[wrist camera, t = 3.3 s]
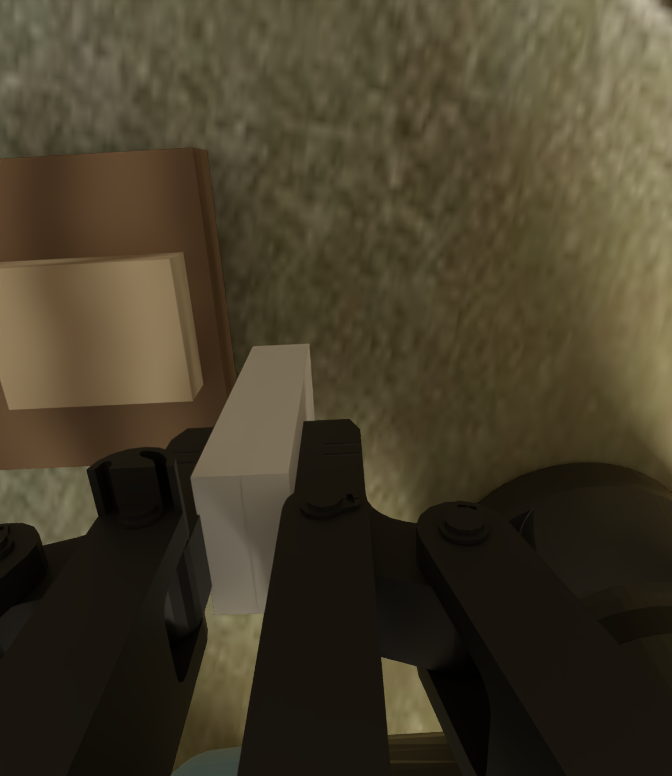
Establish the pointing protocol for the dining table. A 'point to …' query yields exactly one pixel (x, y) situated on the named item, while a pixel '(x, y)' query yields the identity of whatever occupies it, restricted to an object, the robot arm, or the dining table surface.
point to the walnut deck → (116, 238)
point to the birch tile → (97, 332)
